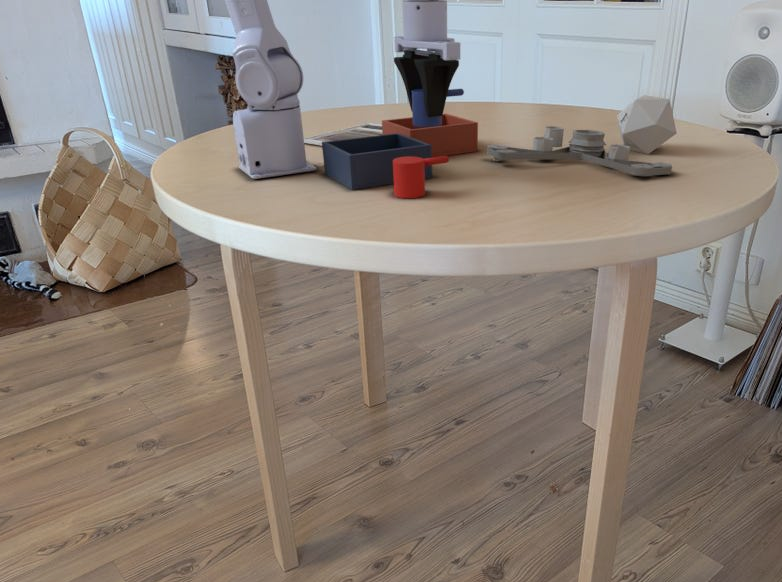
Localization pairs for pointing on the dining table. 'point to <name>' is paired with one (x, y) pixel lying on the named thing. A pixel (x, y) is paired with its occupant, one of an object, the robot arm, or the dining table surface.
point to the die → (646, 123)
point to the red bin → (439, 134)
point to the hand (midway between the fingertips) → (426, 113)
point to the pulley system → (580, 152)
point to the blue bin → (370, 159)
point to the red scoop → (412, 175)
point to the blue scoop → (420, 112)
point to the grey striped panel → (346, 133)
